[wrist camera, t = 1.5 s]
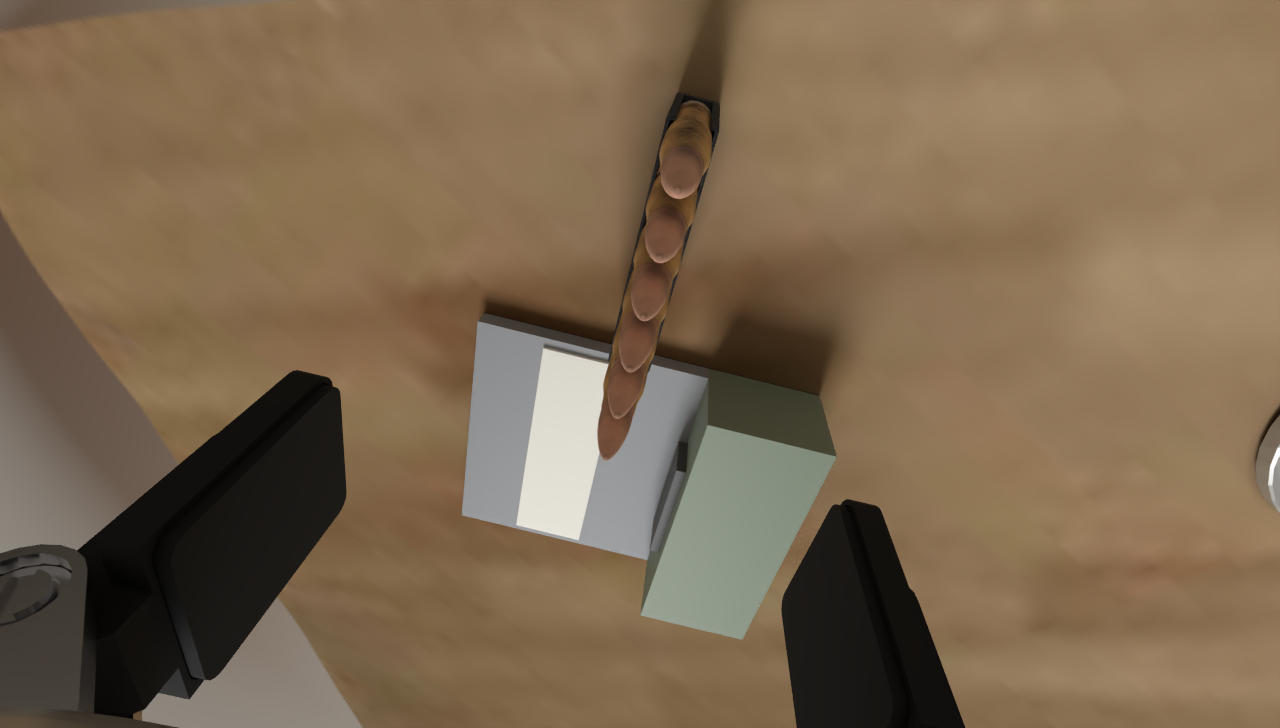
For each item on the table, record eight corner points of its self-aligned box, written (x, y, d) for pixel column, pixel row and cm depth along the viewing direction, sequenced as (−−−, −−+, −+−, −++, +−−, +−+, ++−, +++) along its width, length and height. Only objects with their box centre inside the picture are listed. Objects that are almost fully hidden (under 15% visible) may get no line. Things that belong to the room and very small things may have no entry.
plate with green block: (819, 395, 30) (836, 456, 26) (738, 569, 38) (742, 639, 33) (484, 312, 30) (446, 360, 26) (467, 503, 37) (435, 566, 33)
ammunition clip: (657, 326, 29) (626, 487, 19) (622, 316, 29) (572, 473, 19) (720, 103, 24) (725, 161, 14) (677, 91, 24) (649, 140, 14)
